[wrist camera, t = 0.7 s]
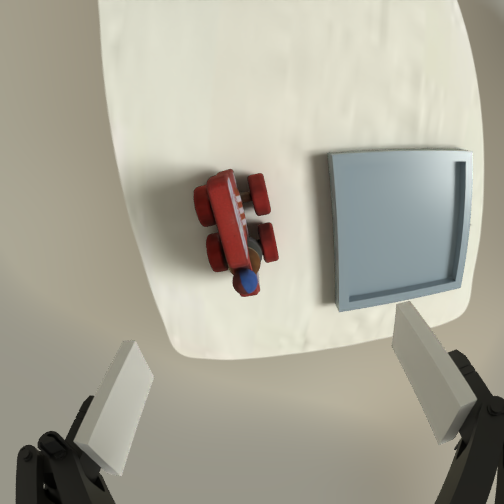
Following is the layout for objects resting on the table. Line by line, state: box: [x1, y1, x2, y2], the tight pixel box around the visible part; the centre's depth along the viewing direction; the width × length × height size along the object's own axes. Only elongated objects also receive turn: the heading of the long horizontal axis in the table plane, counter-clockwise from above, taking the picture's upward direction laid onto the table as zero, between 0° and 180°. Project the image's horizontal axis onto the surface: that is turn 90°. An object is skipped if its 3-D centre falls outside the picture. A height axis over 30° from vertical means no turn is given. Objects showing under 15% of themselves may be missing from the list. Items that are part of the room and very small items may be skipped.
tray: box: [327, 149, 473, 312], centre depth 31 cm, size 18×18×2 cm
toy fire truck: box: [194, 169, 279, 297], centre depth 27 cm, size 7×12×10 cm, turn 11°
